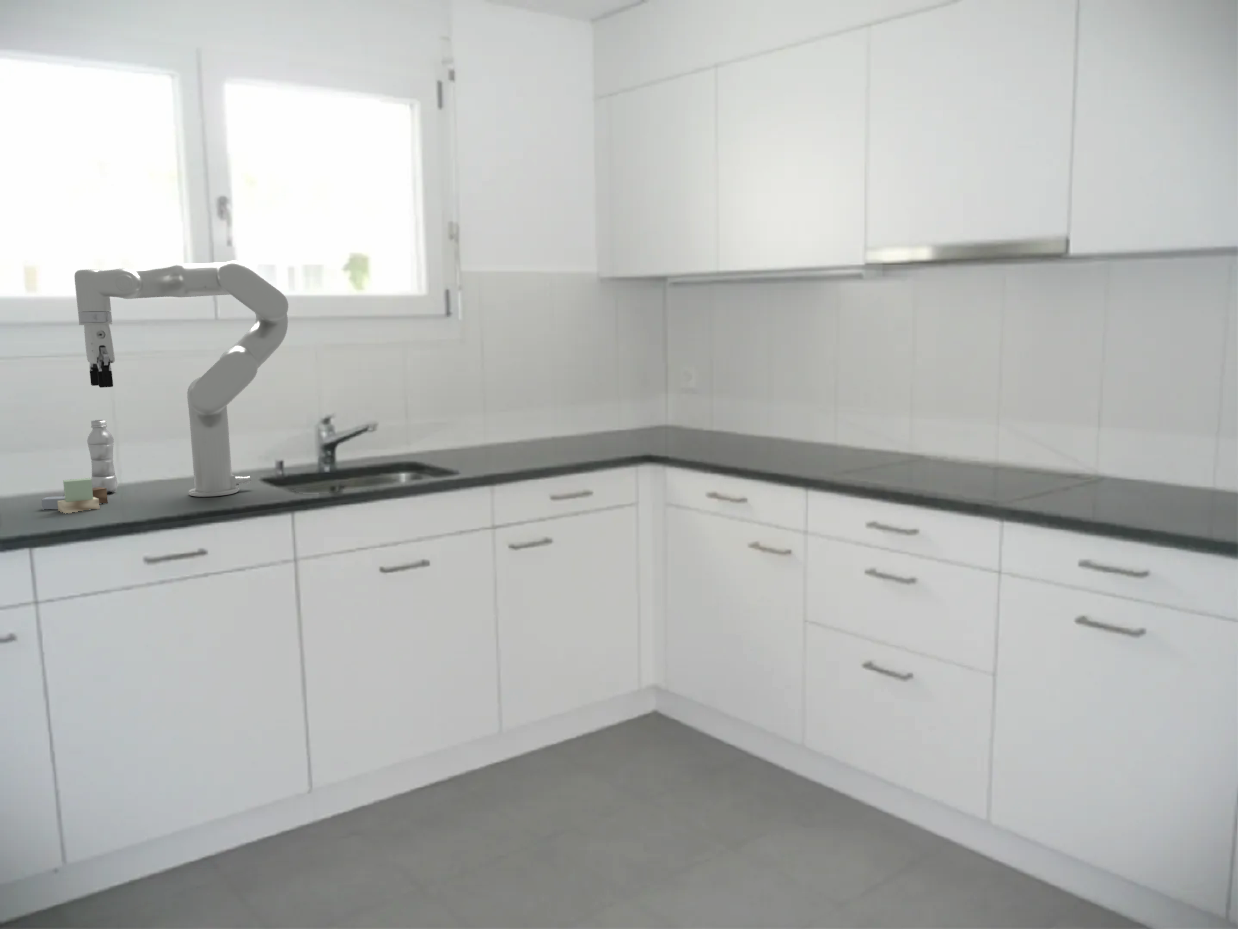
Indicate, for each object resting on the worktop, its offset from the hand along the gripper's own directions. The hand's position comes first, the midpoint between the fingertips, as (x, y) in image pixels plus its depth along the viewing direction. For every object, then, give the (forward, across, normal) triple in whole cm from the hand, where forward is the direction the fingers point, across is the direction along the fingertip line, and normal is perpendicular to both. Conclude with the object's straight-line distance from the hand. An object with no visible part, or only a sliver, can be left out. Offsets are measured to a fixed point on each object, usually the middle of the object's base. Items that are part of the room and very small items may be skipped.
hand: (102, 386), depth 257 cm
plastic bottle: (+30, +15, -1) cm, 34 cm away
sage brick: (+28, -7, +9) cm, 30 cm away
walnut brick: (+30, -1, +5) cm, 31 cm away
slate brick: (+30, -1, +13) cm, 33 cm away
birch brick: (+31, -7, +9) cm, 33 cm away
